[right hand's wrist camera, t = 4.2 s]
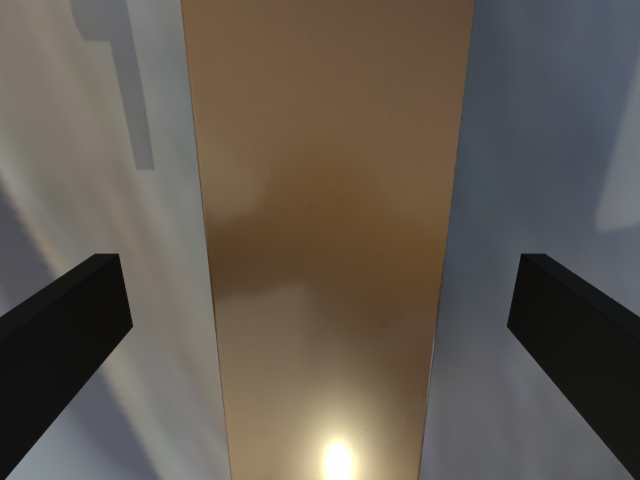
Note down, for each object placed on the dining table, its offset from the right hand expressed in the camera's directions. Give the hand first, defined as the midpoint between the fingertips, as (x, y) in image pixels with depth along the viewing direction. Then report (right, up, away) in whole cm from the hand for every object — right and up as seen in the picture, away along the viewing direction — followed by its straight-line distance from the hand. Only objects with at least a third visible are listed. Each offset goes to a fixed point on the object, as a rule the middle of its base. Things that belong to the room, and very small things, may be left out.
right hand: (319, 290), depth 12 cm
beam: (0, +34, -8) cm, 34 cm away
